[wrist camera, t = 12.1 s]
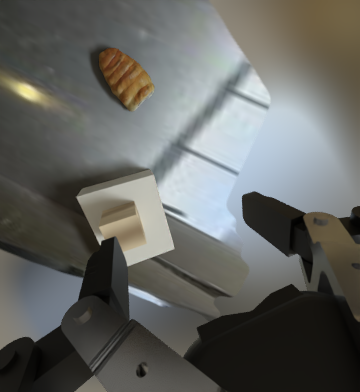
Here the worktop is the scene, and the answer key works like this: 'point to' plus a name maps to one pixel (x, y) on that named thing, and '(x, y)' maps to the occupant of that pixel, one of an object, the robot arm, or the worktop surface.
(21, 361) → the robot arm
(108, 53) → the pastry
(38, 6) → the worktop surface
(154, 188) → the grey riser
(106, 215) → the maple block
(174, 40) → the worktop surface
